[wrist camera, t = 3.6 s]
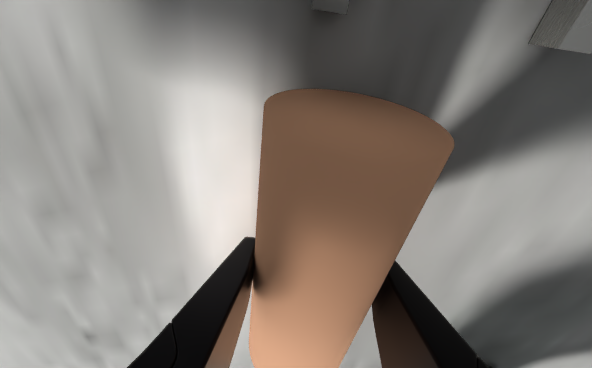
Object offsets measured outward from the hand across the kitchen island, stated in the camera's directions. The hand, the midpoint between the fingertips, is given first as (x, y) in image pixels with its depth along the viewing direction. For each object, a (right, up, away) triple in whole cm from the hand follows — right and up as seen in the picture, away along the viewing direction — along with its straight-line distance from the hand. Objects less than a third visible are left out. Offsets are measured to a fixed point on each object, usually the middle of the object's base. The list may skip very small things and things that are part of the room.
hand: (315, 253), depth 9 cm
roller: (0, +1, +1) cm, 2 cm away
